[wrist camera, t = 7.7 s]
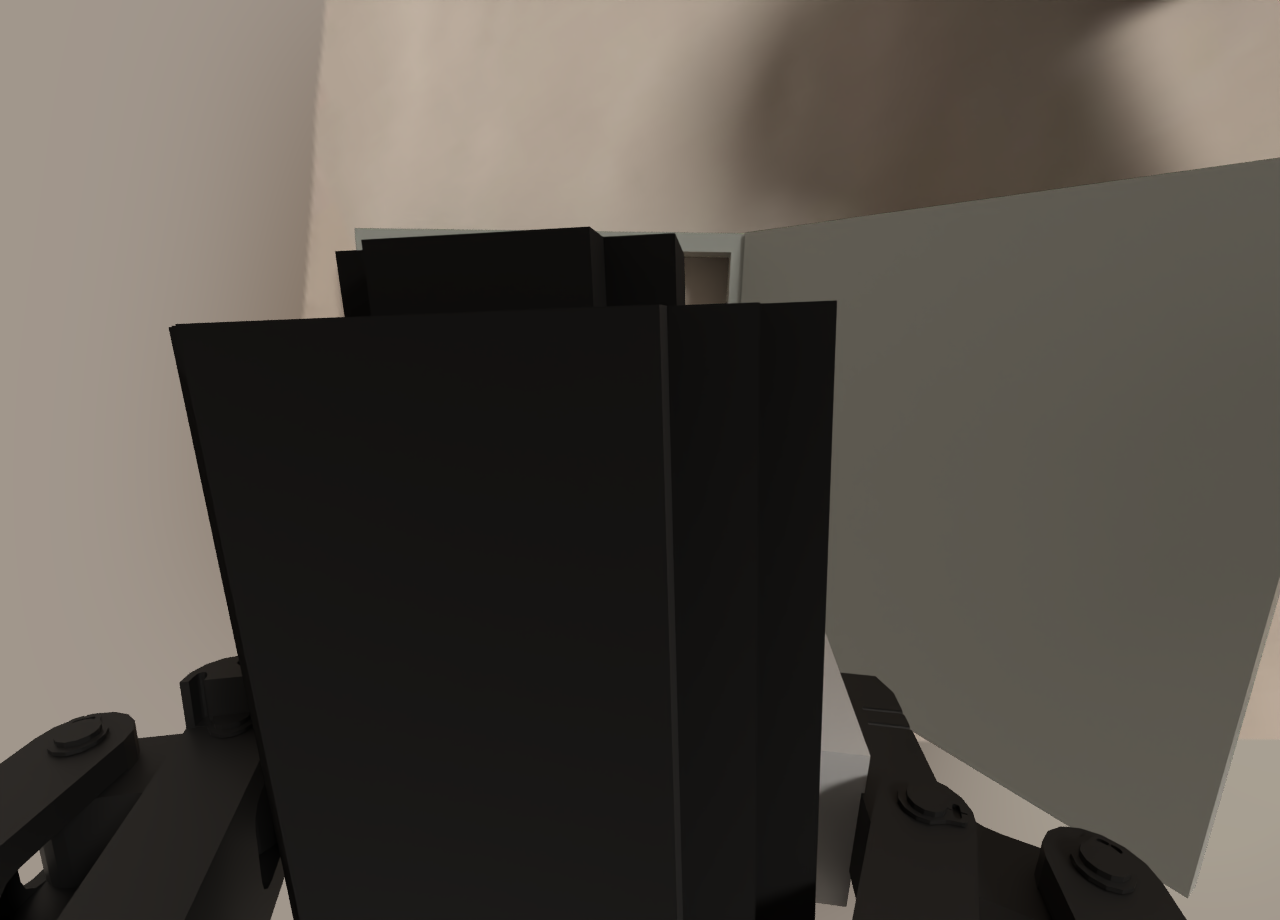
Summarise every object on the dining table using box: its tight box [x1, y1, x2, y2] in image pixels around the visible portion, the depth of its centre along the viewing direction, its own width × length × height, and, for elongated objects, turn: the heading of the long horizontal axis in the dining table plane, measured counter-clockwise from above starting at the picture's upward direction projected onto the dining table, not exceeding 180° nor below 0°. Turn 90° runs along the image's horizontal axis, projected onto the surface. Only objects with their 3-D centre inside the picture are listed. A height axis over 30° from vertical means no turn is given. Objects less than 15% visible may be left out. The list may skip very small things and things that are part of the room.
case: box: [355, 158, 1280, 898], centre depth 29 cm, size 23×38×21 cm, turn 88°
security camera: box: [169, 227, 837, 920], centre depth 11 cm, size 7×18×10 cm, turn 2°
